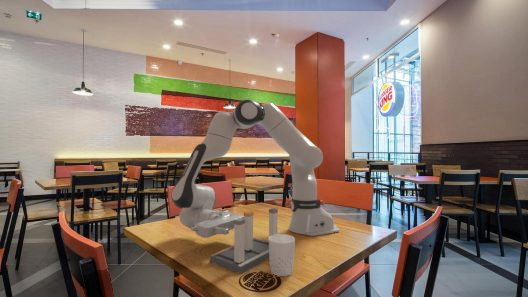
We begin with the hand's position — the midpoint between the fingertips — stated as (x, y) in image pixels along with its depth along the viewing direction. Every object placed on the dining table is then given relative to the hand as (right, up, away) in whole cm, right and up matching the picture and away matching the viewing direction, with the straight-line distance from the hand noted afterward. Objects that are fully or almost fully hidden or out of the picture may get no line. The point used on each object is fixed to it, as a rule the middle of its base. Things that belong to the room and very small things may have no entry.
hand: (236, 228), depth 93 cm
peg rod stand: (+4, -8, -3) cm, 10 cm away
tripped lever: (+4, -6, -3) cm, 8 cm away
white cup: (+15, -9, -15) cm, 23 cm away
